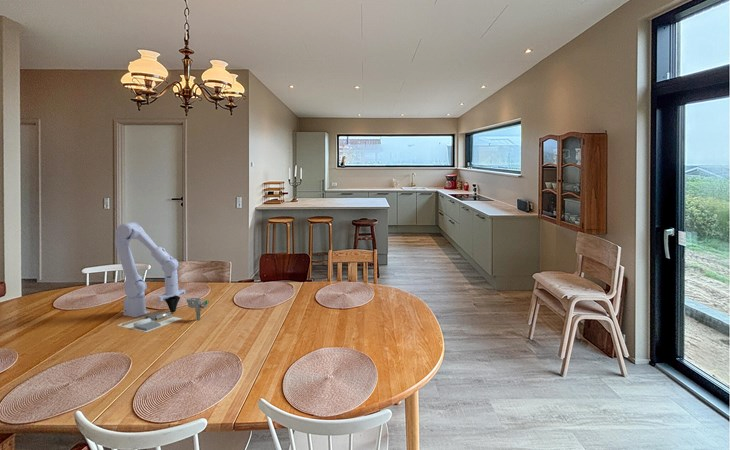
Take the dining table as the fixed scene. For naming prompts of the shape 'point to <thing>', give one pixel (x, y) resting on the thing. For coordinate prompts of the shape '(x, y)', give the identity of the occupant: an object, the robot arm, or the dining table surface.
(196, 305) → the mechanical component
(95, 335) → the dining table surface
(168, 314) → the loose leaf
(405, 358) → the dining table surface
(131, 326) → the hinge jig
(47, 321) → the dining table surface
